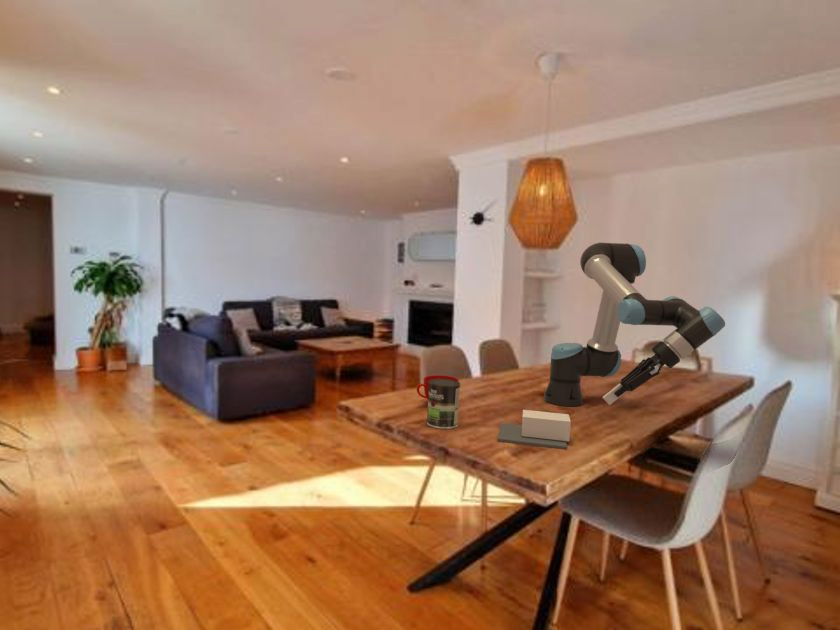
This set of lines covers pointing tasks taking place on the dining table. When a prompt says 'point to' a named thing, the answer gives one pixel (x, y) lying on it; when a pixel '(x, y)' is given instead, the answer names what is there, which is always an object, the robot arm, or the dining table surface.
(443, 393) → the coffee can
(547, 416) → the cream block
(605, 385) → the dining table surface
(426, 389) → the ceramic cup
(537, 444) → the charcoal mat
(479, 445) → the dining table surface
